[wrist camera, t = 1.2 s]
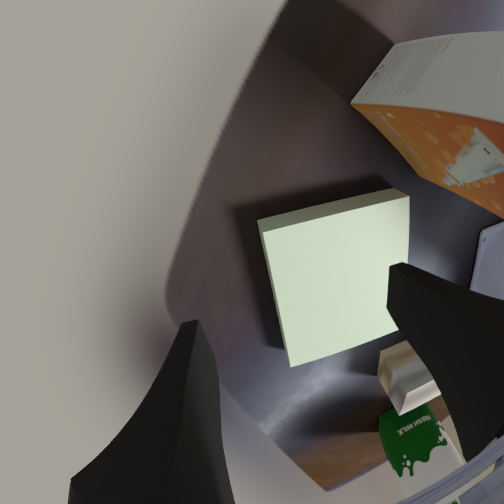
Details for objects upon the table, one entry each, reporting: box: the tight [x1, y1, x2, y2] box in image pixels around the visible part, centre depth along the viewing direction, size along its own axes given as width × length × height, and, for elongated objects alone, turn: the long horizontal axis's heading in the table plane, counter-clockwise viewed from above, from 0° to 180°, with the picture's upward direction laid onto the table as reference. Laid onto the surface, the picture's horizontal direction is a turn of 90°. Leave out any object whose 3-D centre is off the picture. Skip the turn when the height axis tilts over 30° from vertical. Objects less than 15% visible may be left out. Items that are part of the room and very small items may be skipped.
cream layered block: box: [377, 340, 441, 416], centre depth 25 cm, size 4×7×6 cm, turn 102°
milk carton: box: [379, 402, 477, 504], centre depth 27 cm, size 9×9×20 cm
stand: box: [257, 188, 410, 367], centre depth 21 cm, size 12×10×2 cm
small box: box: [350, 31, 504, 219], centre depth 11 cm, size 8×6×13 cm
